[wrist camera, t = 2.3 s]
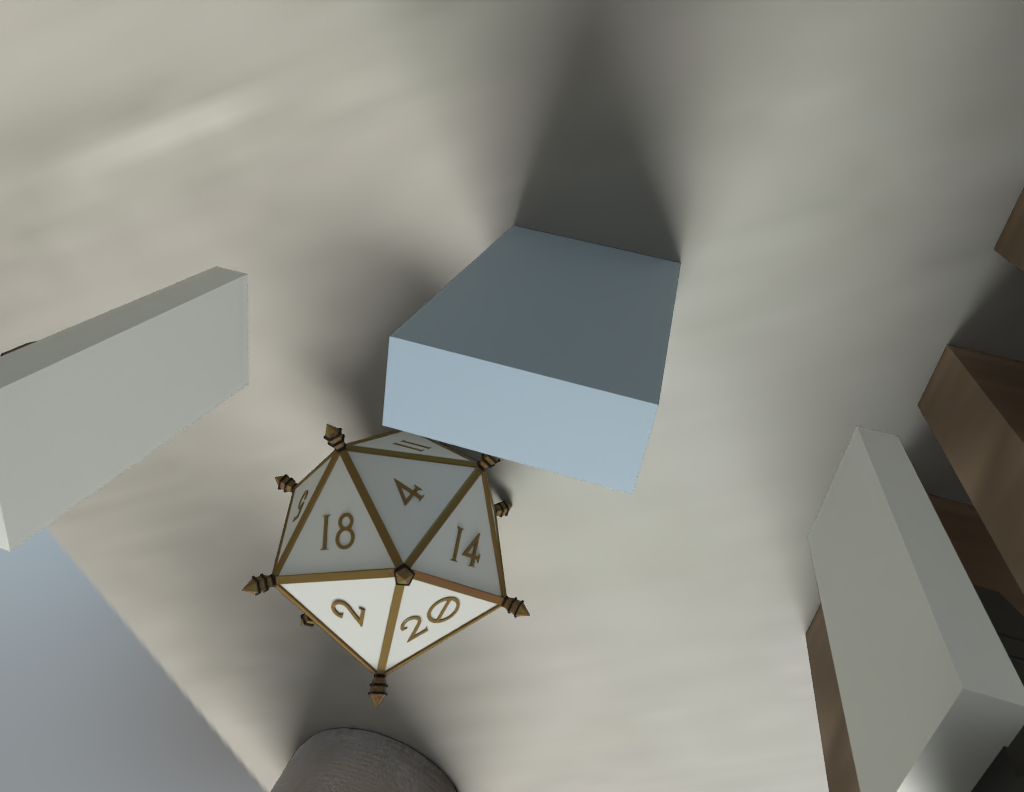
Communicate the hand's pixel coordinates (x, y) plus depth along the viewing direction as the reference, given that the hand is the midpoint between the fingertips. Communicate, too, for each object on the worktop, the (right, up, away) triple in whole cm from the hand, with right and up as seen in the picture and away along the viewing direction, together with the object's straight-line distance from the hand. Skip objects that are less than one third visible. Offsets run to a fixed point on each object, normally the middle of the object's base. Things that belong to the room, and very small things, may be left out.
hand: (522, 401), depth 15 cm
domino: (+2, +4, +7) cm, 8 cm away
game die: (-3, -3, +12) cm, 13 cm away
